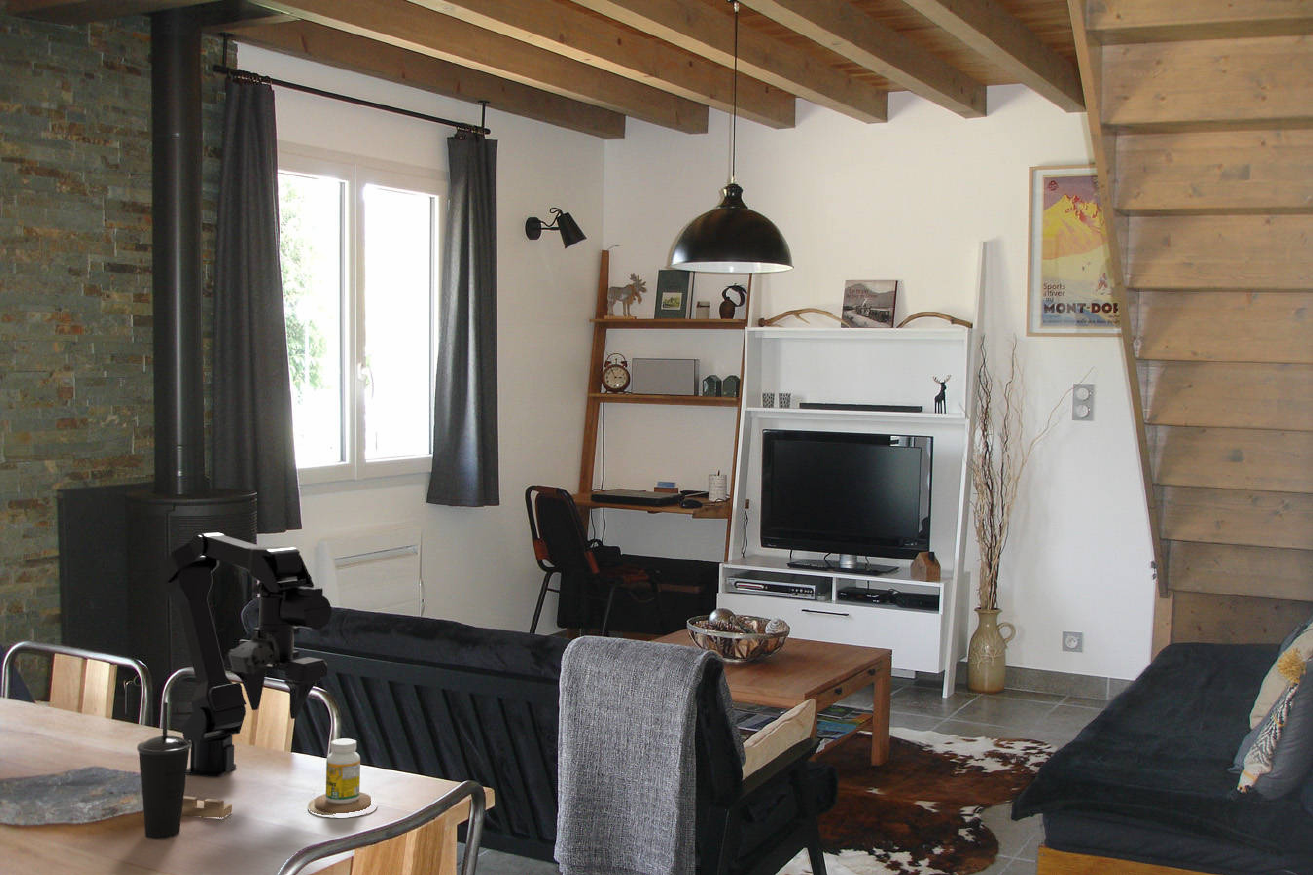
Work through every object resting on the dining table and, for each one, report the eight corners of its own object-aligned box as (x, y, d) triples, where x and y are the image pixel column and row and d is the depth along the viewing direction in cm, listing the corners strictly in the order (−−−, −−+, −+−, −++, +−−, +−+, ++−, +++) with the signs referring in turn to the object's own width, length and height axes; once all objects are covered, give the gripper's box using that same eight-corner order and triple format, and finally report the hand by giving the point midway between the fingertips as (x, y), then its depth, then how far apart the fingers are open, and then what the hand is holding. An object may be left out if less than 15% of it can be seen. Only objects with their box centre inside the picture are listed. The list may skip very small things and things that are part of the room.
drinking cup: (172, 821, 193) (176, 694, 193) (198, 833, 189) (202, 703, 188) (125, 833, 188) (128, 702, 187) (151, 846, 183) (154, 711, 182)
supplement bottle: (364, 801, 203) (366, 743, 203) (333, 806, 200) (334, 747, 199) (350, 792, 207) (352, 735, 207) (319, 797, 204) (321, 739, 204)
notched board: (175, 814, 197) (176, 797, 197) (186, 808, 200) (187, 791, 200) (221, 819, 195) (222, 802, 195) (231, 813, 198) (232, 796, 198)
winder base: (295, 814, 199) (295, 806, 199) (327, 793, 210) (327, 786, 210) (359, 821, 197) (359, 814, 197) (388, 800, 208) (388, 793, 208)
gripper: (199, 621, 207) (197, 714, 207) (280, 636, 198) (277, 733, 198) (251, 613, 217) (249, 702, 217) (330, 626, 207) (328, 719, 208)
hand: (274, 713), depth 210 cm, fingers open, 9 cm apart
